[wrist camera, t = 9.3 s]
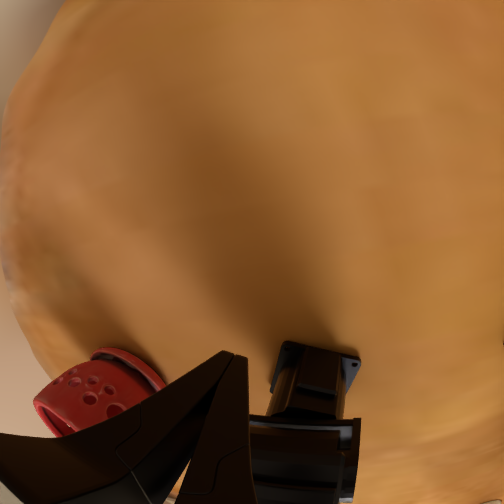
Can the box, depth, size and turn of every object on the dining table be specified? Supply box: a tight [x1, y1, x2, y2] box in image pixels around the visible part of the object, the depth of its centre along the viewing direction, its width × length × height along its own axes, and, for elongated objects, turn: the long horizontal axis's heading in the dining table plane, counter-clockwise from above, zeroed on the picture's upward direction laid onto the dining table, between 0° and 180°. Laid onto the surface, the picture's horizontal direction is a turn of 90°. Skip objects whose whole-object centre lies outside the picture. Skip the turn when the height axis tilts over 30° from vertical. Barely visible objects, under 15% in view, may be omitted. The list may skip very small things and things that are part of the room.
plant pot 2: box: [33, 347, 166, 437], centre depth 27 cm, size 13×13×12 cm
